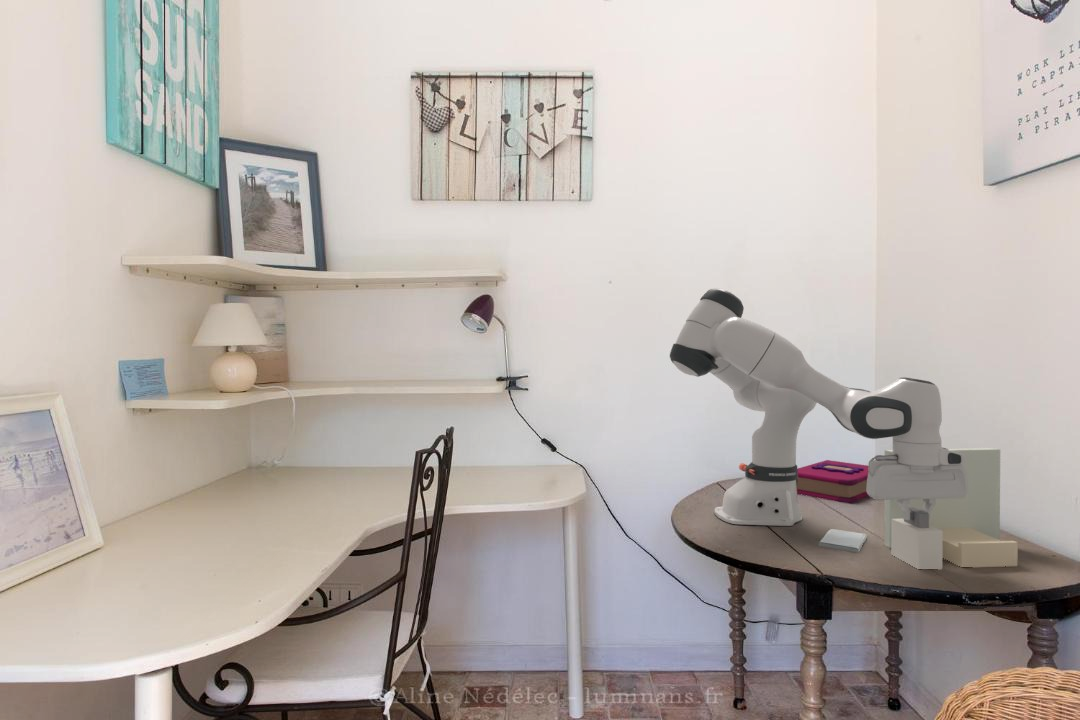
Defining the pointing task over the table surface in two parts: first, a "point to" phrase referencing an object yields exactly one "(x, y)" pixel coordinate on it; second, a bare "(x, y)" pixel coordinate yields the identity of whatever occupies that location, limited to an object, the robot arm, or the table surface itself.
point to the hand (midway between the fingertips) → (916, 519)
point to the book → (833, 481)
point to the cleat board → (967, 515)
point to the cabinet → (917, 541)
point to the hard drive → (843, 540)
